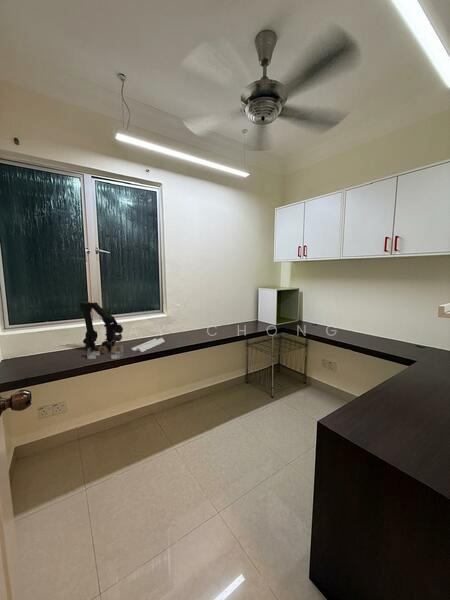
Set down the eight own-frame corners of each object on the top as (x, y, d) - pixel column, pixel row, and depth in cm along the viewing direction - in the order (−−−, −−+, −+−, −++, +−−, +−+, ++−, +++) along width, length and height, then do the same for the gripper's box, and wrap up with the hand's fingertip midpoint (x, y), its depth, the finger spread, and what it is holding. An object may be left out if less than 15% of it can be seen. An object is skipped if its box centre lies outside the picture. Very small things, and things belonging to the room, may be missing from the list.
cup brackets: (86, 358, 184) (85, 349, 184) (91, 354, 193) (91, 346, 192) (120, 358, 185) (119, 349, 184) (124, 354, 194) (123, 346, 193)
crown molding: (154, 340, 233) (154, 336, 233) (165, 342, 229) (165, 338, 228) (130, 350, 204) (130, 346, 204) (142, 352, 200) (142, 348, 199)
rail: (98, 353, 197) (98, 347, 196) (101, 351, 201) (100, 345, 200) (121, 353, 197) (121, 347, 196) (123, 351, 201) (123, 345, 200)
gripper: (115, 335, 188) (116, 355, 190) (124, 329, 206) (125, 347, 208) (100, 335, 187) (102, 355, 189) (111, 329, 206) (112, 347, 208)
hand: (111, 350), depth 199 cm, fingers closed on rail, 4 cm apart
